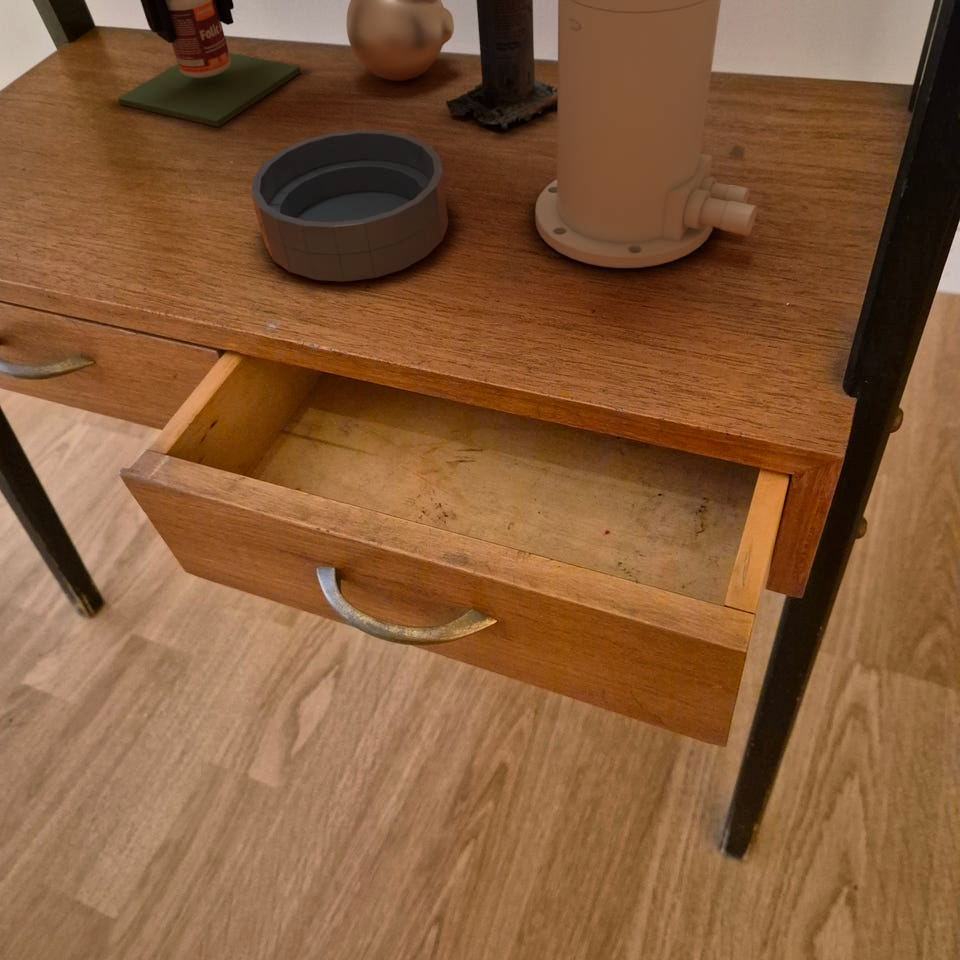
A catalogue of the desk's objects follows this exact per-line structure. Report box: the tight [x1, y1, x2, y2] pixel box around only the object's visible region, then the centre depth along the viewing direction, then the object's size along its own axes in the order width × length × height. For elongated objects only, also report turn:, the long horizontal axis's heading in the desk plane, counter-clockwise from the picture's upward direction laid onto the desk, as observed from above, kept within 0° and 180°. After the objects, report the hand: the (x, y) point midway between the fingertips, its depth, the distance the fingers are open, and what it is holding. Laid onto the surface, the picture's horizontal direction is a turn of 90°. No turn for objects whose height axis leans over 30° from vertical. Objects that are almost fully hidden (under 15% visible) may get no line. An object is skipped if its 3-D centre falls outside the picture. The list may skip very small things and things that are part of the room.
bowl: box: [250, 129, 449, 283], centre depth 62 cm, size 13×13×4 cm
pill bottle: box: [165, 0, 231, 78], centre depth 78 cm, size 5×5×8 cm
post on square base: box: [445, 0, 558, 132], centre depth 71 cm, size 9×8×12 cm
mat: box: [117, 52, 301, 128], centre depth 82 cm, size 12×12×1 cm
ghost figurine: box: [345, 0, 455, 82], centre depth 78 cm, size 9×10×10 cm
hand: (194, 26), depth 78 cm, fingers closed on pill bottle, 4 cm apart
